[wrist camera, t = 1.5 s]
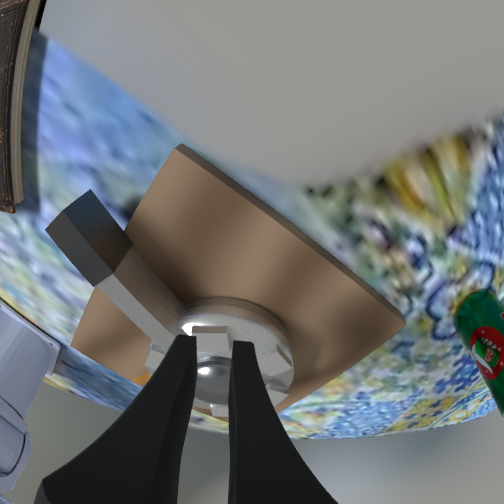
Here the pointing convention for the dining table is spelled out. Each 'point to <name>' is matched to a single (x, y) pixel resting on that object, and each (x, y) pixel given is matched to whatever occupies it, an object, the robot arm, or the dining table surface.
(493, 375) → the soda can
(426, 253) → the dining table surface
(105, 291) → the silver mechanical part
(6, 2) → the hardcover book
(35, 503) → the robot arm
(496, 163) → the dining table surface
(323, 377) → the walnut board
